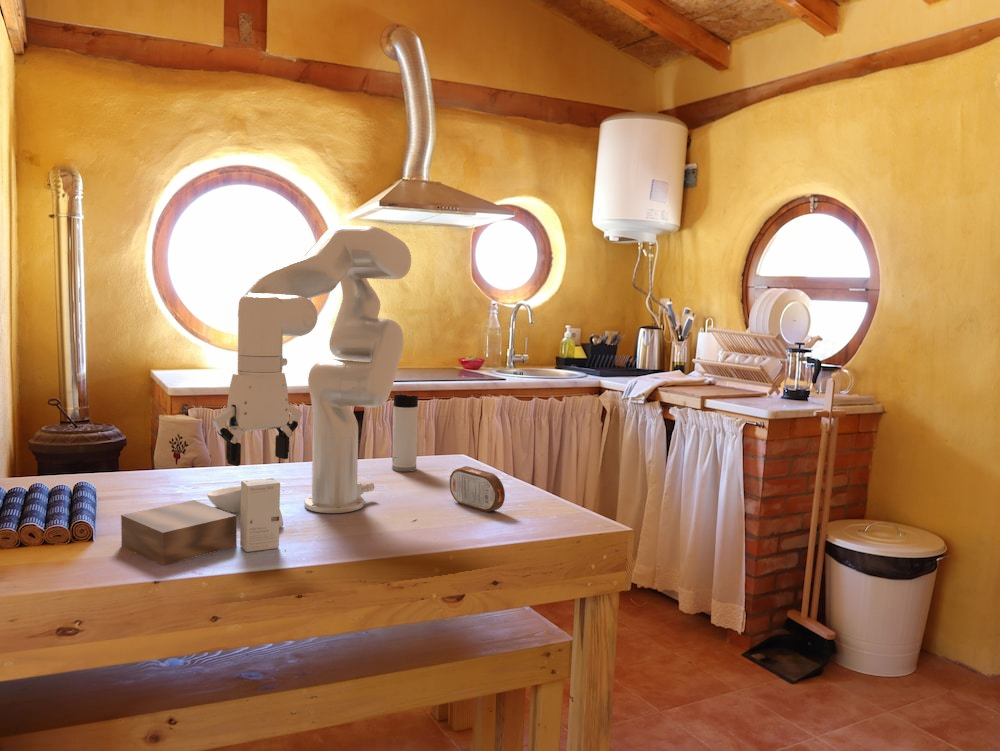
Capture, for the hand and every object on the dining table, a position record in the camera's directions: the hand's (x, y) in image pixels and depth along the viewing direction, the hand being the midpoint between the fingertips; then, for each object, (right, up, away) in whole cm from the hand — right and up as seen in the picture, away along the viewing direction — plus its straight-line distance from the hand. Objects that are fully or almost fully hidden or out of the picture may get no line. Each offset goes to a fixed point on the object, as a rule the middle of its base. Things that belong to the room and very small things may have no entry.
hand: (258, 461), depth 141 cm
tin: (+38, -14, +33) cm, 52 cm away
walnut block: (-15, -16, +1) cm, 21 cm away
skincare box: (0, -16, +2) cm, 16 cm away
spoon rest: (-9, -14, +21) cm, 27 cm away
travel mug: (+18, -9, +65) cm, 68 cm away
